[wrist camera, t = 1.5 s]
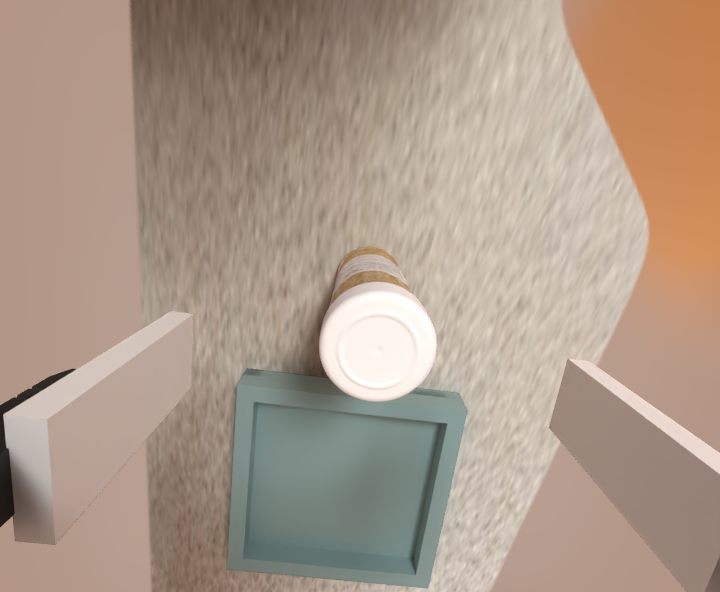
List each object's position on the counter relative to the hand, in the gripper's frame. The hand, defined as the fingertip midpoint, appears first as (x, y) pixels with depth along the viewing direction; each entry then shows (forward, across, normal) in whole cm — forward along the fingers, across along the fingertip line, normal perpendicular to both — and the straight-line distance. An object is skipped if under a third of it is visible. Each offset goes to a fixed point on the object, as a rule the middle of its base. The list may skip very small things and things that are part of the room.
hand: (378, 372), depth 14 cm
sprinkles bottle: (+15, 0, 0) cm, 15 cm away
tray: (+15, 0, -16) cm, 21 cm away
